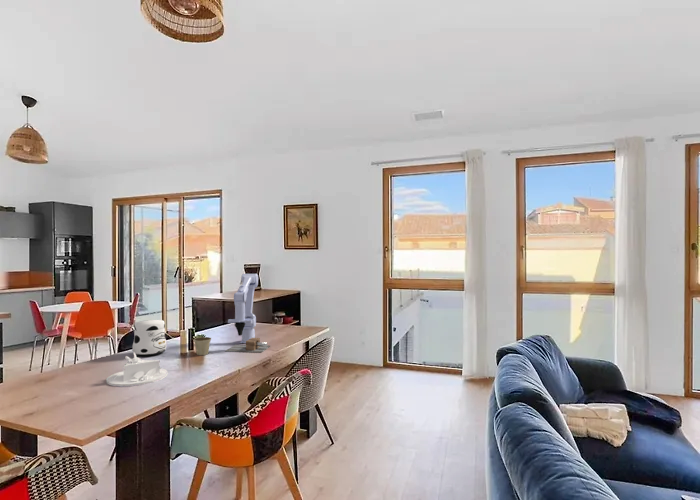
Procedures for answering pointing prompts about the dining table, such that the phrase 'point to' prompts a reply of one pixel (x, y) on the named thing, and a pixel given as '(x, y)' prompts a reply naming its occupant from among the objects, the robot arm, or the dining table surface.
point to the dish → (137, 373)
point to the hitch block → (248, 347)
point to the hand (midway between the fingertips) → (240, 335)
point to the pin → (261, 344)
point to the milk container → (149, 337)
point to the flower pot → (202, 345)
